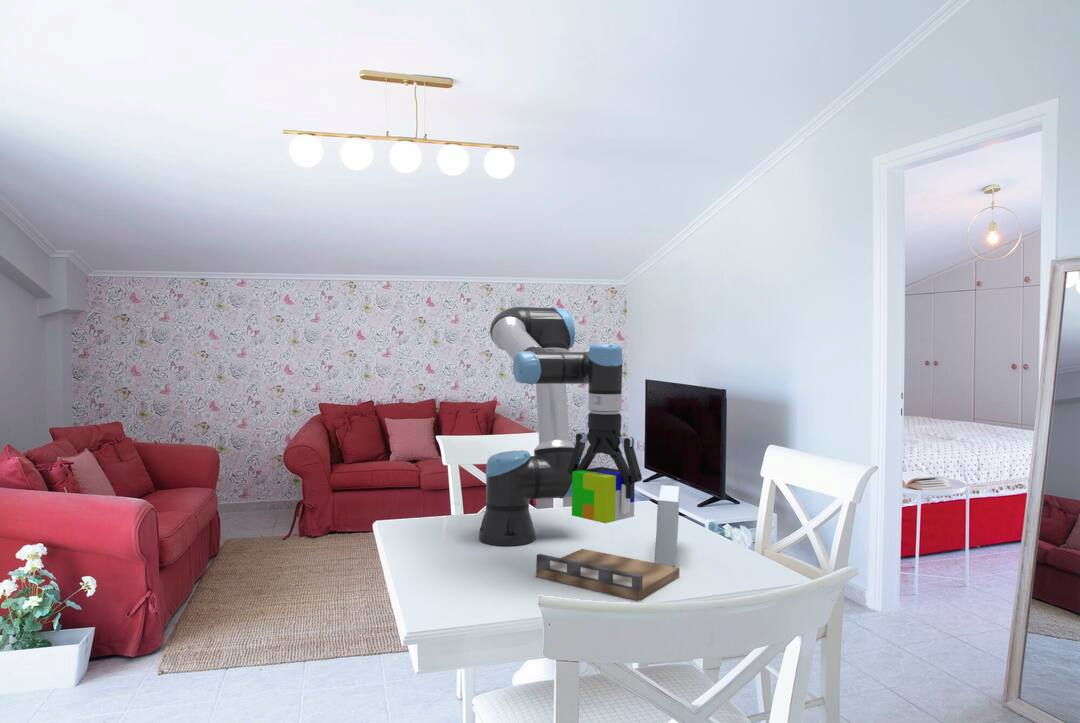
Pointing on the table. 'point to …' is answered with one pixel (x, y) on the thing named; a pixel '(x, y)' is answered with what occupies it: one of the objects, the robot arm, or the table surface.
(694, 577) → the table surface
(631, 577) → the brown piece
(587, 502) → the puzzle toy
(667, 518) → the skincare box
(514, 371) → the robot arm
